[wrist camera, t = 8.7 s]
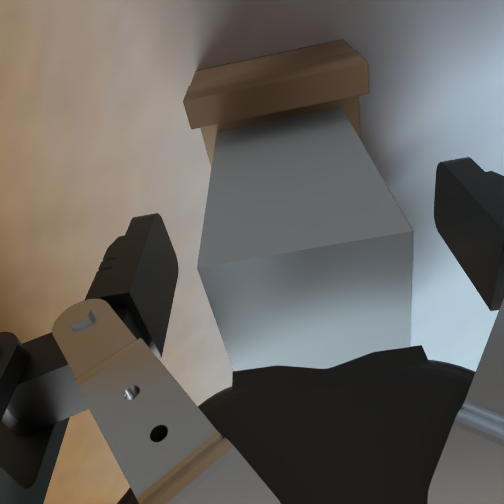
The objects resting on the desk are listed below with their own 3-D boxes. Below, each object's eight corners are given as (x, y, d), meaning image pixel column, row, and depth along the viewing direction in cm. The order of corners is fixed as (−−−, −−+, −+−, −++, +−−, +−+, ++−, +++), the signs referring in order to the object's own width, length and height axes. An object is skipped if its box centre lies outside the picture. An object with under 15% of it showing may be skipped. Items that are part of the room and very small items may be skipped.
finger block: (341, 107, 13) (412, 231, 8) (349, 216, 16) (409, 372, 10) (216, 132, 14) (196, 267, 8) (243, 235, 16) (242, 395, 10)
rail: (343, 37, 14) (451, 143, 7) (363, 343, 23) (419, 534, 15) (195, 69, 14) (145, 200, 7) (270, 356, 23) (282, 546, 16)
